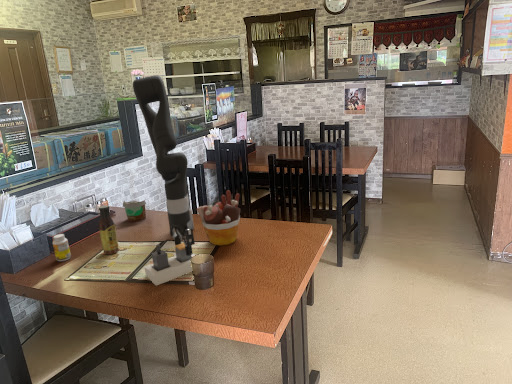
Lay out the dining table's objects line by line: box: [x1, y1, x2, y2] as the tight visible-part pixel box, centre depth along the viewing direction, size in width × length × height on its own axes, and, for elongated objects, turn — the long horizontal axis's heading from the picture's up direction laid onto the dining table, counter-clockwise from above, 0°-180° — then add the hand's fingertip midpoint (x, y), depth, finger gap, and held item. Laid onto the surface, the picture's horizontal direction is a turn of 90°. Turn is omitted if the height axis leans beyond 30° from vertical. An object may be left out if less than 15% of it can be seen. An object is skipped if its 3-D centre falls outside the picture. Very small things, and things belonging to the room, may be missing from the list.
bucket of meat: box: [196, 189, 241, 247], centre depth 165 cm, size 20×16×20 cm
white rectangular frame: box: [144, 244, 196, 287], centre depth 140 cm, size 18×9×12 cm, turn 127°
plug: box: [174, 242, 191, 263], centre depth 143 cm, size 4×4×8 cm
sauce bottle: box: [98, 204, 119, 255], centre depth 162 cm, size 7×6×20 cm
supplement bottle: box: [52, 233, 72, 262], centre depth 159 cm, size 6×6×10 cm
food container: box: [122, 199, 147, 223], centre depth 200 cm, size 12×6×10 cm, turn 81°
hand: (183, 251), depth 143 cm, fingers open, 8 cm apart
